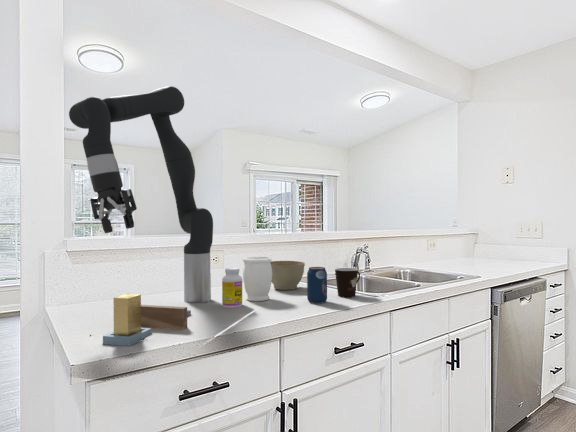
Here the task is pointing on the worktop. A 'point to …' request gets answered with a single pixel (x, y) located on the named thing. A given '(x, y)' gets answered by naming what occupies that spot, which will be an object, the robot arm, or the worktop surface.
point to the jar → (257, 278)
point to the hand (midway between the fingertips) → (119, 230)
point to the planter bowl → (286, 274)
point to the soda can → (317, 285)
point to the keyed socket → (126, 338)
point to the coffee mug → (346, 281)
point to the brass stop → (127, 315)
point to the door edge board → (164, 317)
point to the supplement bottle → (232, 288)
